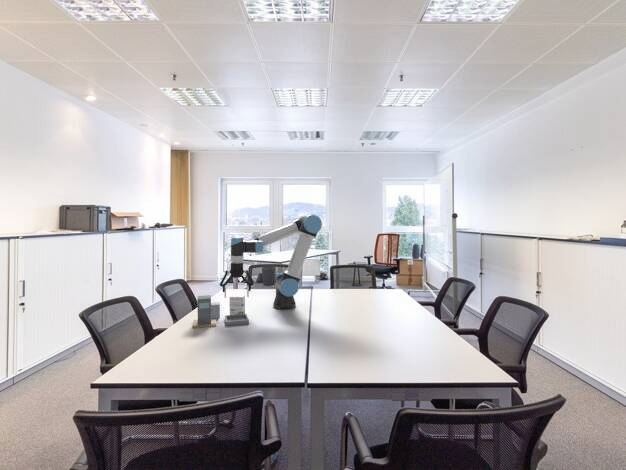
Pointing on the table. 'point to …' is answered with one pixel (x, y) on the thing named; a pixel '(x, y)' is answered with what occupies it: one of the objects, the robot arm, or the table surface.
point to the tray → (236, 320)
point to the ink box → (237, 305)
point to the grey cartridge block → (215, 310)
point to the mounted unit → (204, 313)
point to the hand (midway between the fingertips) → (236, 297)
